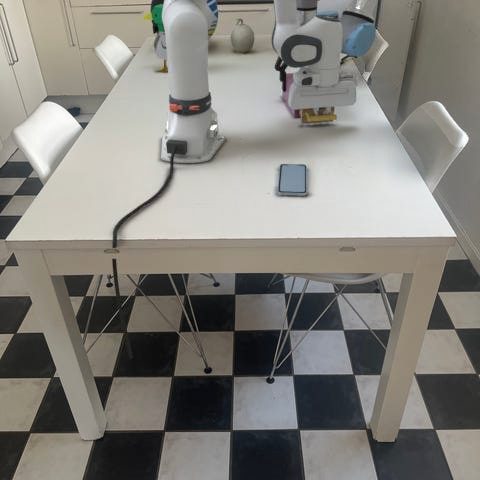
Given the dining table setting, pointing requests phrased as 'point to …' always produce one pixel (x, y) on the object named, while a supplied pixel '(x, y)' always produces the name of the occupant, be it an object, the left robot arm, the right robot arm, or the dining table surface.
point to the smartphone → (292, 179)
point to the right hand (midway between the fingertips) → (300, 89)
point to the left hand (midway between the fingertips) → (320, 120)
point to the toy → (159, 34)
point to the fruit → (242, 37)
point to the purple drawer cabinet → (286, 94)
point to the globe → (209, 13)
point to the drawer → (310, 116)
